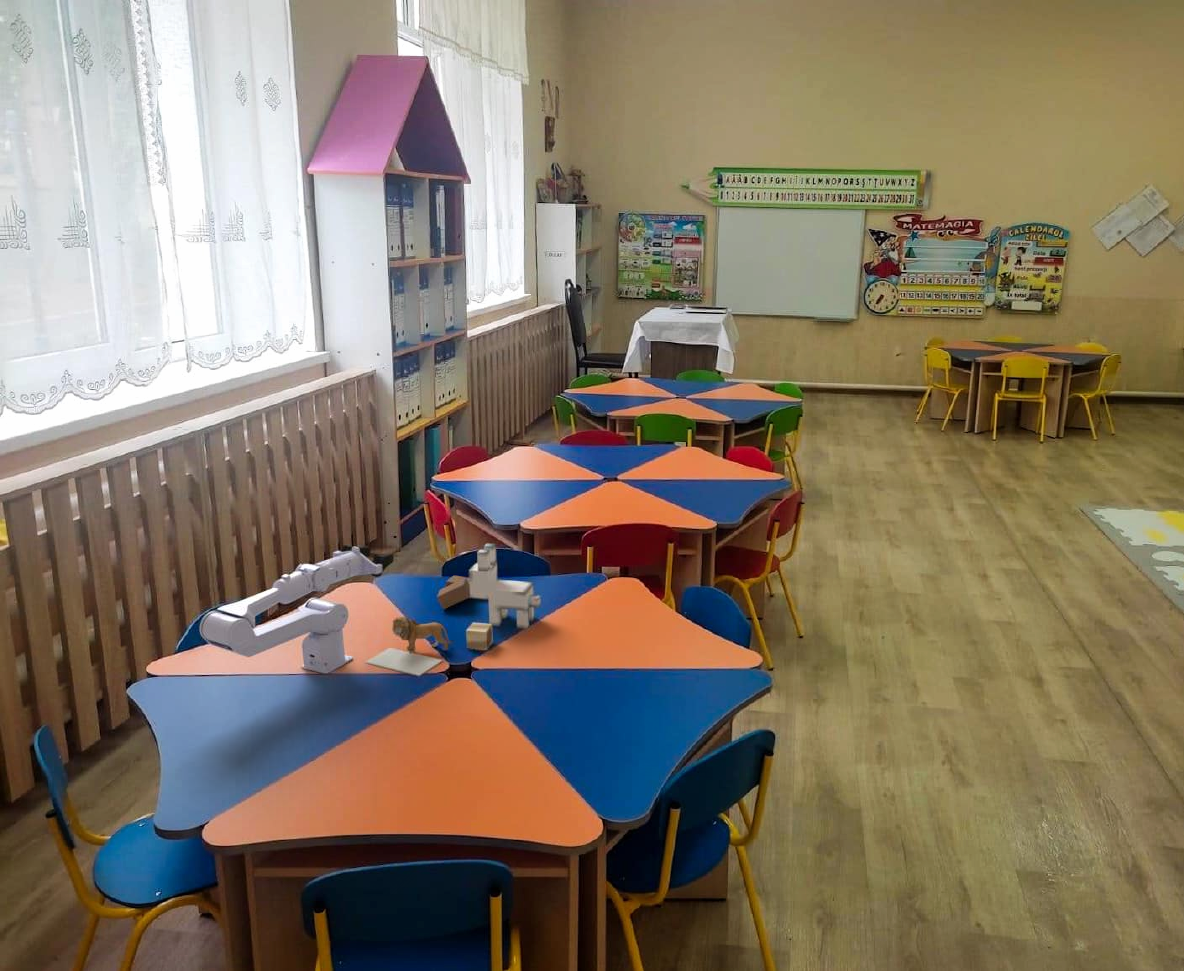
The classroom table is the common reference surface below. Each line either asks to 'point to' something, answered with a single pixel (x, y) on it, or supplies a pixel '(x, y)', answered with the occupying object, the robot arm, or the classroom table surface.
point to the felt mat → (404, 661)
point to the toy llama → (501, 590)
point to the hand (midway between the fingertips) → (380, 554)
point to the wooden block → (455, 591)
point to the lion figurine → (419, 632)
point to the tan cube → (479, 636)
